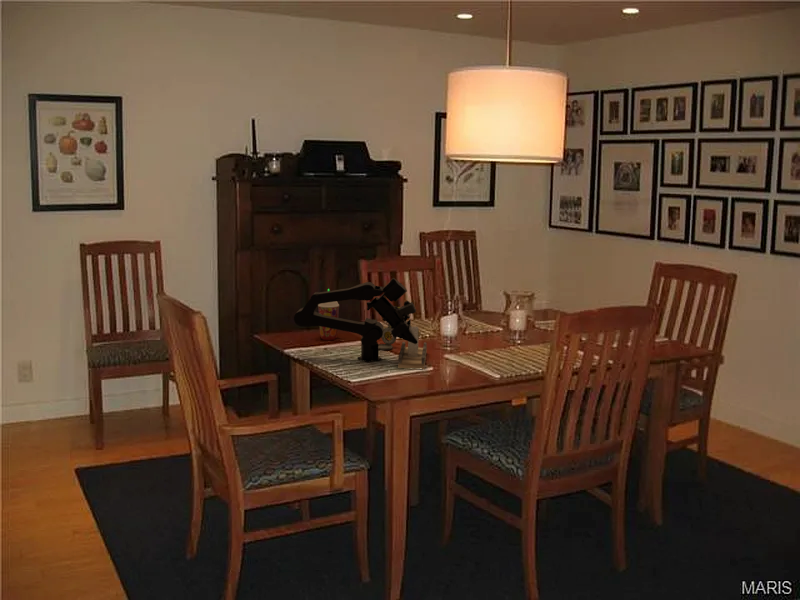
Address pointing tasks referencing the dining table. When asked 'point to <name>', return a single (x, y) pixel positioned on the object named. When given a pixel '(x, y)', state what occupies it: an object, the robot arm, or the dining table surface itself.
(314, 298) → the robot arm
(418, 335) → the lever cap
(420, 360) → the tan piece
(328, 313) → the smoothie
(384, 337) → the pocket watch
